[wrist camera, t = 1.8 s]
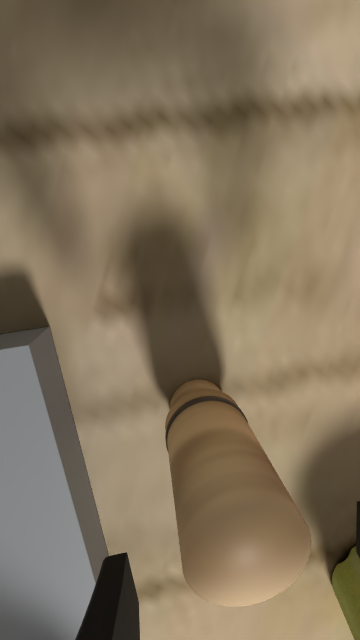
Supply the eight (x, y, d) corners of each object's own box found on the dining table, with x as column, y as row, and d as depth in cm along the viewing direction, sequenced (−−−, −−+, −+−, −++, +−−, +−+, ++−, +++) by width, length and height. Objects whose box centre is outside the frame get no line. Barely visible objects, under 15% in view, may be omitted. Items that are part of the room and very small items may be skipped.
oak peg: (234, 428, 19) (314, 591, 10) (167, 441, 18) (190, 620, 10) (227, 366, 18) (310, 486, 9) (156, 379, 17) (171, 516, 9)
